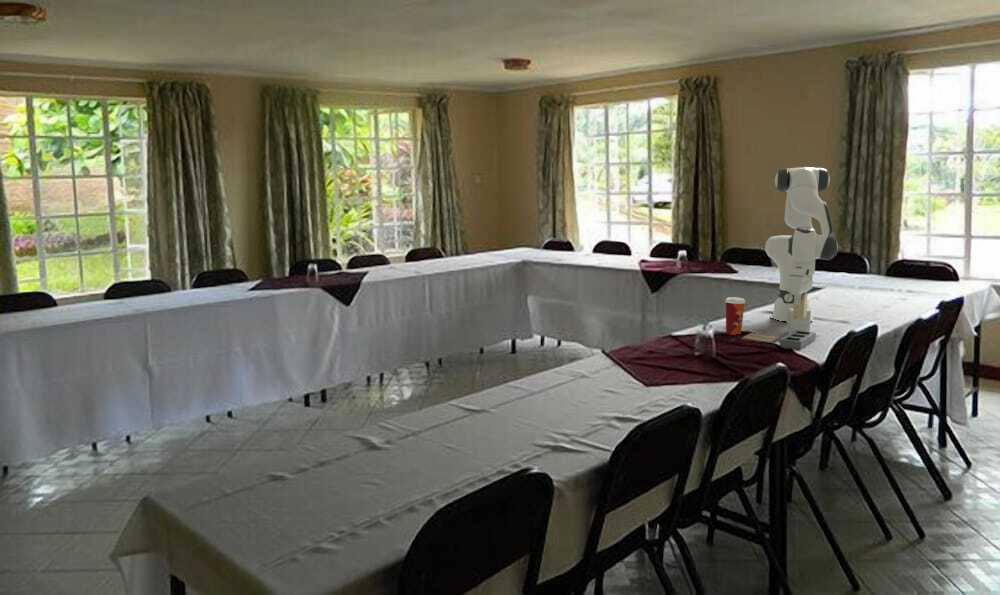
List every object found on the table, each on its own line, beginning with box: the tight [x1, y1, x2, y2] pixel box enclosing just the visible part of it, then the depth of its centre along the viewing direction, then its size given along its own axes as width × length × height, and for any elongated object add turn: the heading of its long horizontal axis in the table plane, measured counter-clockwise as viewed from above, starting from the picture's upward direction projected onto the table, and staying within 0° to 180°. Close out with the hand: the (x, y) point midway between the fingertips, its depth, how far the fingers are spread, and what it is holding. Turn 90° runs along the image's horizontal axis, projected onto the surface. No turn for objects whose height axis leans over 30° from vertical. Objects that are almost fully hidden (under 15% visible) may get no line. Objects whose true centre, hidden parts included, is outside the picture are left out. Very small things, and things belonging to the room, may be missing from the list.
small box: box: [786, 308, 812, 334], centre depth 326 cm, size 8×6×10 cm
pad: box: [740, 332, 781, 344], centre depth 315 cm, size 12×12×1 cm
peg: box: [793, 293, 809, 318], centre depth 307 cm, size 4×4×9 cm
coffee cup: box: [724, 296, 746, 336], centre depth 326 cm, size 8×8×15 cm
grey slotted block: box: [778, 330, 817, 351], centre depth 309 cm, size 22×8×3 cm, turn 144°
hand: (800, 303), depth 306 cm, fingers closed on peg, 4 cm apart
